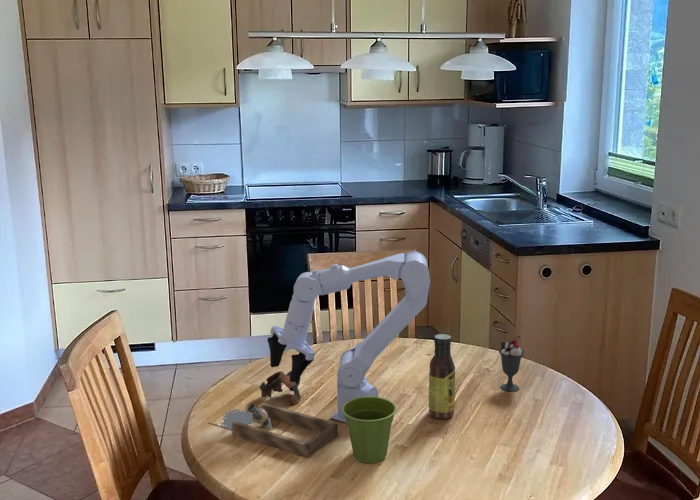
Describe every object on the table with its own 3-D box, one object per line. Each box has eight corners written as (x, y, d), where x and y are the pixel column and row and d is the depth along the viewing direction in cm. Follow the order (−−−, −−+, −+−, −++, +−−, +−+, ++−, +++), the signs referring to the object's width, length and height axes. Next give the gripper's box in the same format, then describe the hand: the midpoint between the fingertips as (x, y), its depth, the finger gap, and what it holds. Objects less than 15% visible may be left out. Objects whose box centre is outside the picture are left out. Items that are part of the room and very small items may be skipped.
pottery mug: (291, 412, 180) (273, 385, 178) (266, 419, 186) (249, 393, 184) (315, 384, 189) (299, 358, 187) (291, 391, 195) (275, 366, 193)
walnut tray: (337, 435, 167) (337, 423, 166) (307, 458, 157) (307, 445, 156) (264, 414, 178) (264, 403, 177) (232, 434, 168) (231, 422, 167)
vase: (249, 433, 168) (248, 409, 167) (246, 425, 173) (245, 401, 172) (272, 430, 169) (271, 406, 168) (268, 422, 174) (267, 398, 173)
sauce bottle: (453, 421, 173) (455, 342, 168) (427, 419, 174) (428, 341, 170) (455, 409, 179) (457, 333, 175) (429, 407, 180) (431, 331, 176)
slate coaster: (261, 417, 177) (261, 416, 176) (236, 432, 169) (236, 431, 169) (232, 409, 181) (232, 407, 181) (207, 423, 174) (207, 422, 174)
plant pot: (364, 437, 166) (364, 391, 163) (407, 453, 159) (407, 405, 156) (330, 457, 157) (330, 409, 154) (374, 476, 150) (374, 425, 147)
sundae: (525, 393, 188) (528, 338, 184) (499, 393, 188) (501, 338, 184) (520, 382, 194) (522, 329, 191) (494, 382, 194) (496, 329, 191)
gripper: (266, 310, 173) (253, 361, 177) (304, 336, 164) (289, 390, 167) (288, 308, 178) (275, 358, 182) (326, 334, 169) (312, 386, 172)
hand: (283, 373), depth 175 cm, fingers open, 7 cm apart
